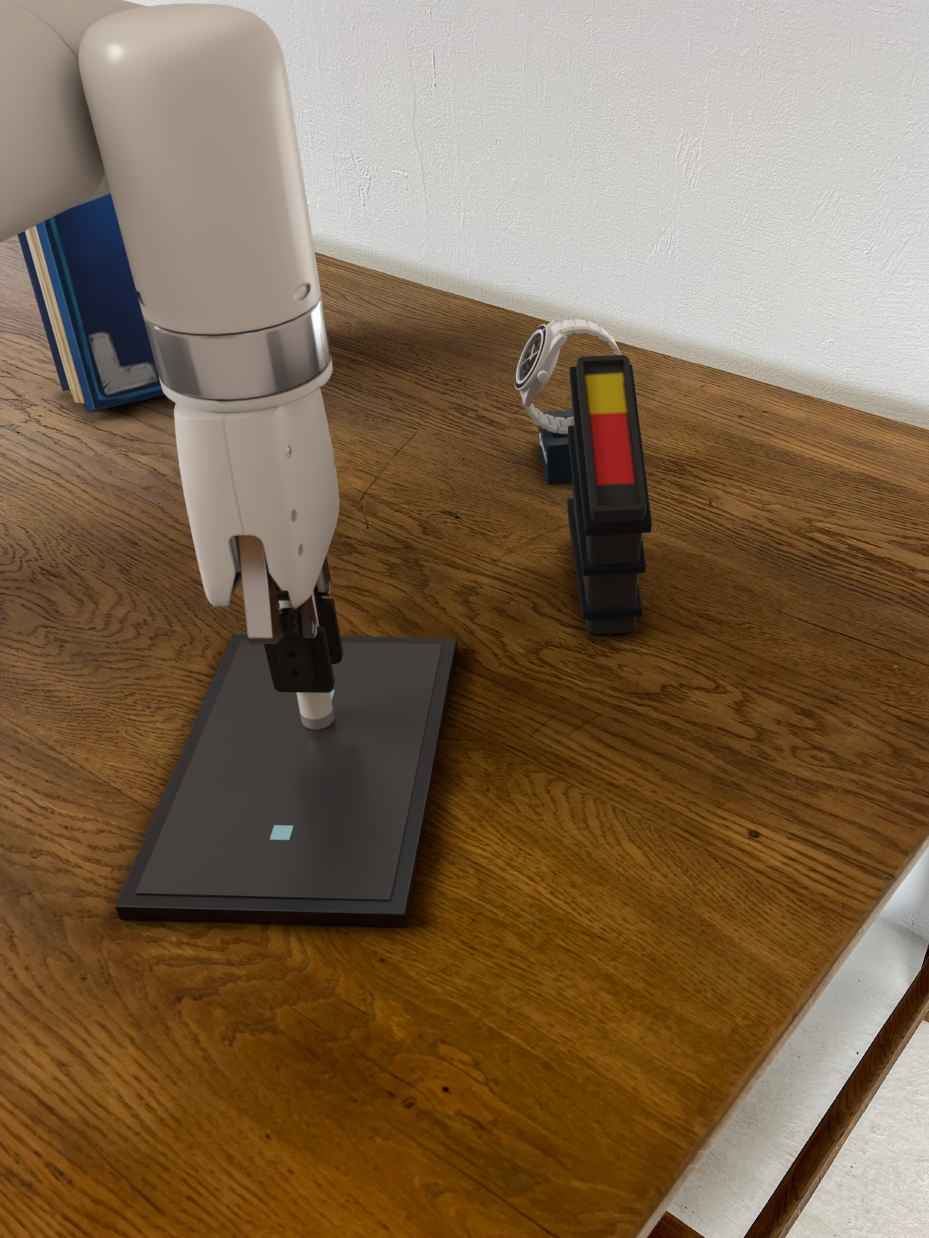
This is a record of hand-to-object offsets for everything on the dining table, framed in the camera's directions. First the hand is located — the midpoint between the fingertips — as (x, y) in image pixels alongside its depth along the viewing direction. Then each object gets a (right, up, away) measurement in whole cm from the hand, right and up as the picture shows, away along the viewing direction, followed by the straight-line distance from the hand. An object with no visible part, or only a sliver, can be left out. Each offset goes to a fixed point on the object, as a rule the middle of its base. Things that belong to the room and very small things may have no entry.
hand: (309, 672), depth 63 cm
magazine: (+16, +6, +13) cm, 22 cm away
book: (-19, +29, +39) cm, 53 cm away
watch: (+14, +18, +26) cm, 35 cm away
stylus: (0, -2, +2) cm, 3 cm away
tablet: (0, -5, +1) cm, 5 cm away
